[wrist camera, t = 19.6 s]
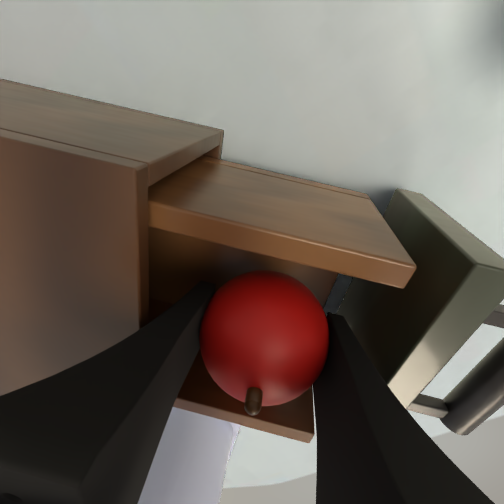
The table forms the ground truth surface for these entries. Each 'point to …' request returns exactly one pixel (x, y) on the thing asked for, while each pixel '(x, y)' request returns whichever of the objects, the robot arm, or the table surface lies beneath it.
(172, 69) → the table surface
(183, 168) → the drawer
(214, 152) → the cabinet
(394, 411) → the robot arm
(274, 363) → the apple
